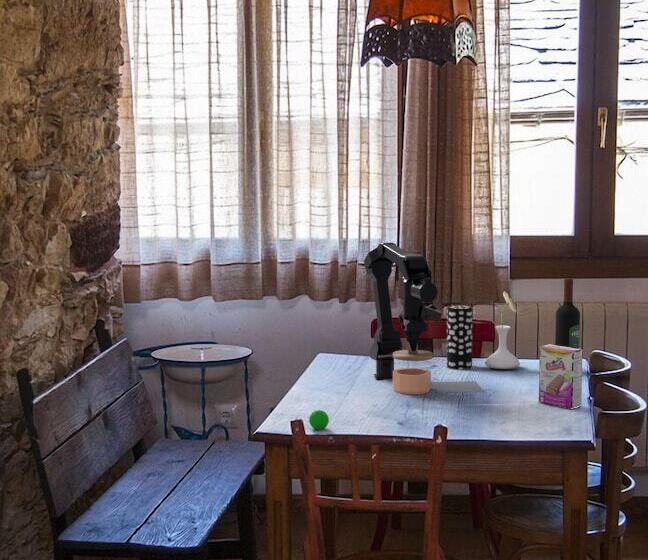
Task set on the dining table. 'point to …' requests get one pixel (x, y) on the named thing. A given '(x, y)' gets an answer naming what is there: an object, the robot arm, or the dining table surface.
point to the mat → (457, 386)
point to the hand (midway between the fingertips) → (412, 350)
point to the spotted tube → (459, 337)
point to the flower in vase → (503, 344)
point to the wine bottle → (567, 320)
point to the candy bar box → (560, 376)
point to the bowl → (411, 380)
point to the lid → (412, 354)
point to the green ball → (318, 419)
